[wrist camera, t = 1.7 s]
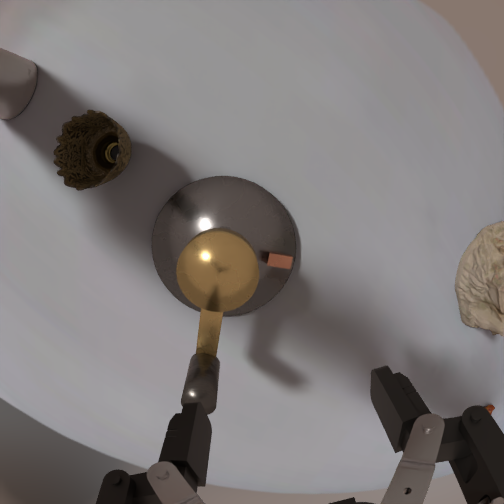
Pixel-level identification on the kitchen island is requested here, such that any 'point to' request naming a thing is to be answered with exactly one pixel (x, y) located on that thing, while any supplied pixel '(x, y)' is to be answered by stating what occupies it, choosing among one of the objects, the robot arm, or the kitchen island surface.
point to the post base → (230, 217)
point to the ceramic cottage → (483, 281)
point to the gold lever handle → (213, 300)
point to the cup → (91, 150)
